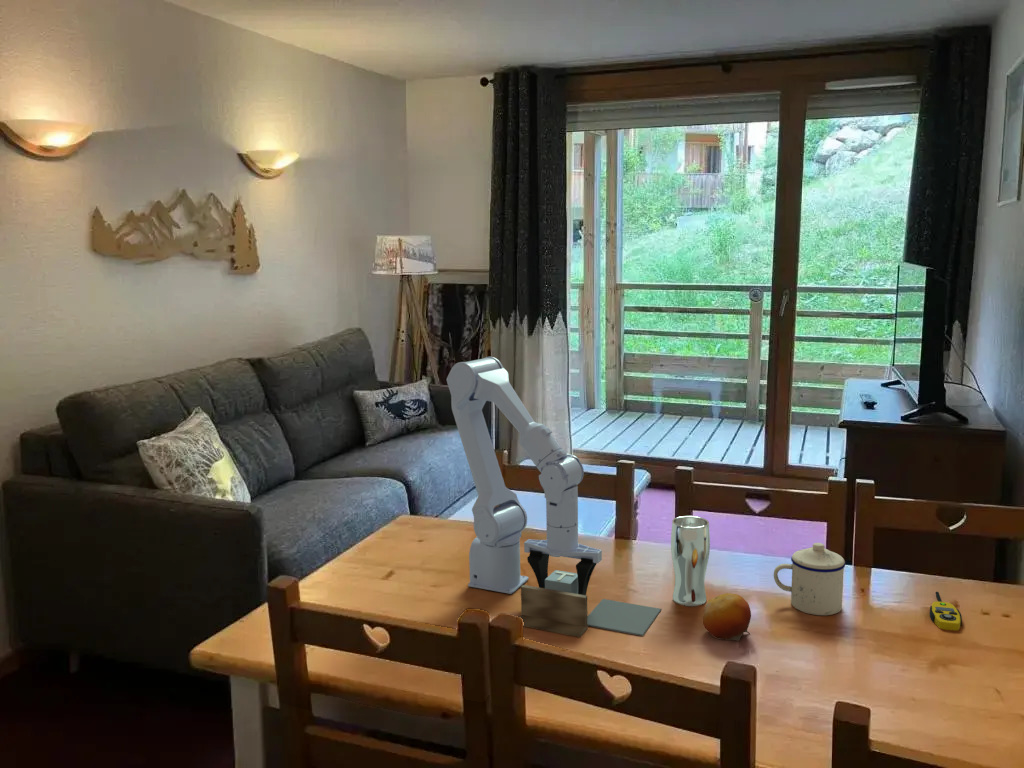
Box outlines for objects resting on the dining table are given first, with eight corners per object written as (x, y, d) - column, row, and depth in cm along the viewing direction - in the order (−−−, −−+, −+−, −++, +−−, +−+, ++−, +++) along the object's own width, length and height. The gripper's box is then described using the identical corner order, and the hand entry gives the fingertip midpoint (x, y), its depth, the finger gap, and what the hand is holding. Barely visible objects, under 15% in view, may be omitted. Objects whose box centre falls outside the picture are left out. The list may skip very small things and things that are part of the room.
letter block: (545, 605, 157) (544, 578, 156) (555, 595, 162) (555, 569, 161) (570, 610, 155) (570, 582, 154) (580, 599, 160) (580, 572, 159)
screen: (515, 624, 150) (514, 592, 148) (523, 616, 153) (523, 584, 152) (580, 637, 144) (579, 603, 143) (587, 628, 147) (587, 595, 146)
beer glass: (709, 608, 154) (710, 528, 152) (669, 606, 156) (670, 527, 153) (708, 593, 161) (709, 516, 158) (670, 590, 162) (671, 514, 160)
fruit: (754, 643, 138) (729, 597, 139) (712, 657, 142) (689, 612, 143) (768, 623, 145) (744, 580, 146) (728, 637, 149) (705, 595, 150)
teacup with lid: (842, 598, 157) (845, 537, 155) (844, 619, 149) (847, 555, 147) (773, 591, 161) (775, 531, 159) (771, 611, 153) (774, 549, 151)
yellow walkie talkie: (934, 619, 145) (922, 584, 159) (933, 630, 145) (922, 594, 159) (966, 623, 143) (951, 587, 157) (965, 634, 144) (951, 597, 158)
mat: (581, 624, 149) (581, 623, 149) (602, 600, 159) (602, 598, 159) (642, 636, 144) (642, 634, 144) (661, 610, 154) (661, 608, 154)
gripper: (516, 524, 155) (517, 595, 158) (592, 535, 149) (592, 608, 151) (532, 513, 162) (533, 581, 164) (605, 522, 155) (605, 593, 158)
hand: (562, 593), depth 158 cm, fingers open, 7 cm apart
